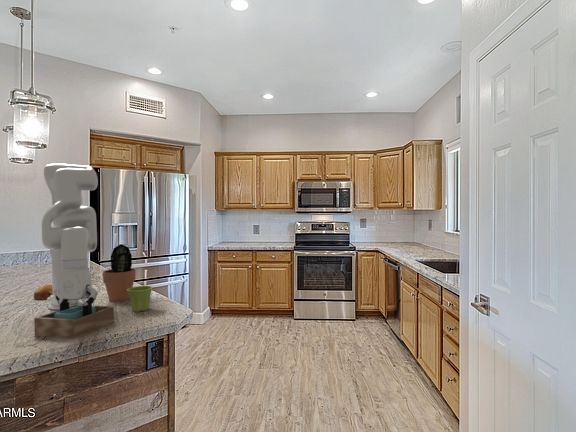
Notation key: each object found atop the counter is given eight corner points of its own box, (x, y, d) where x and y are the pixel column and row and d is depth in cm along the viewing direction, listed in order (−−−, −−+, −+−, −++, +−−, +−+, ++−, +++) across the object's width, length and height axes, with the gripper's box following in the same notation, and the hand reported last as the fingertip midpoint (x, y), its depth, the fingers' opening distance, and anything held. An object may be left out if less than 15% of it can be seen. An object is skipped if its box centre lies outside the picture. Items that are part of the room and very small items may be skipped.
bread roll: (56, 302, 168) (53, 286, 170) (64, 295, 162) (61, 279, 164) (32, 306, 160) (29, 290, 162) (40, 299, 154) (36, 283, 156)
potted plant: (95, 301, 151) (94, 245, 151) (120, 294, 164) (119, 242, 164) (119, 304, 146) (118, 245, 146) (143, 296, 159) (141, 243, 159)
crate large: (34, 336, 109) (34, 317, 109) (76, 321, 124) (76, 304, 124) (76, 339, 105) (75, 320, 105) (113, 323, 121) (113, 306, 121)
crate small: (54, 331, 111) (54, 313, 111) (80, 322, 121) (79, 305, 120) (71, 332, 109) (71, 314, 109) (95, 323, 119) (95, 305, 119)
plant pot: (143, 313, 131) (143, 291, 131) (122, 312, 133) (121, 290, 133) (157, 307, 140) (157, 286, 140) (137, 306, 142) (137, 285, 142)
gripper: (43, 265, 113) (44, 317, 113) (87, 266, 109) (88, 320, 109) (63, 262, 120) (64, 311, 120) (105, 263, 116) (106, 313, 117)
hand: (76, 315), depth 115 cm, fingers open, 8 cm apart
